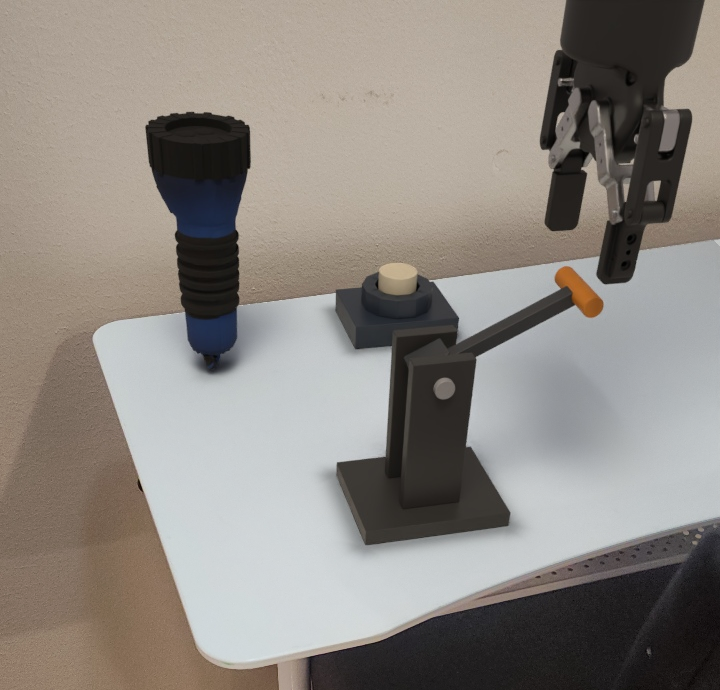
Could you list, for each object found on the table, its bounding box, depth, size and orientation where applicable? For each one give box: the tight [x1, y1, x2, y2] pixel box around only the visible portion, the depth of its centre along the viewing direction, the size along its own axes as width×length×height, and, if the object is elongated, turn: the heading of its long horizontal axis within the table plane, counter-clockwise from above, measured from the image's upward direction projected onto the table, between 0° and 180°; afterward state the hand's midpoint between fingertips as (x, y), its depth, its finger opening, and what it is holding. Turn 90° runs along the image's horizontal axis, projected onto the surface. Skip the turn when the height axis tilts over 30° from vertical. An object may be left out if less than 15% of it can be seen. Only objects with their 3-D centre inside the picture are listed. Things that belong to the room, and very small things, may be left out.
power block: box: [335, 271, 460, 350], centre depth 95 cm, size 10×8×4 cm
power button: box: [378, 262, 418, 295], centre depth 93 cm, size 4×4×2 cm
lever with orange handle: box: [404, 265, 605, 369], centre depth 68 cm, size 13×5×2 cm, turn 104°
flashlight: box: [144, 111, 252, 370], centre depth 83 cm, size 8×8×20 cm
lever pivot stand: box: [336, 325, 511, 546], centre depth 72 cm, size 11×9×13 cm
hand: (585, 253), depth 65 cm, fingers open, 8 cm apart
